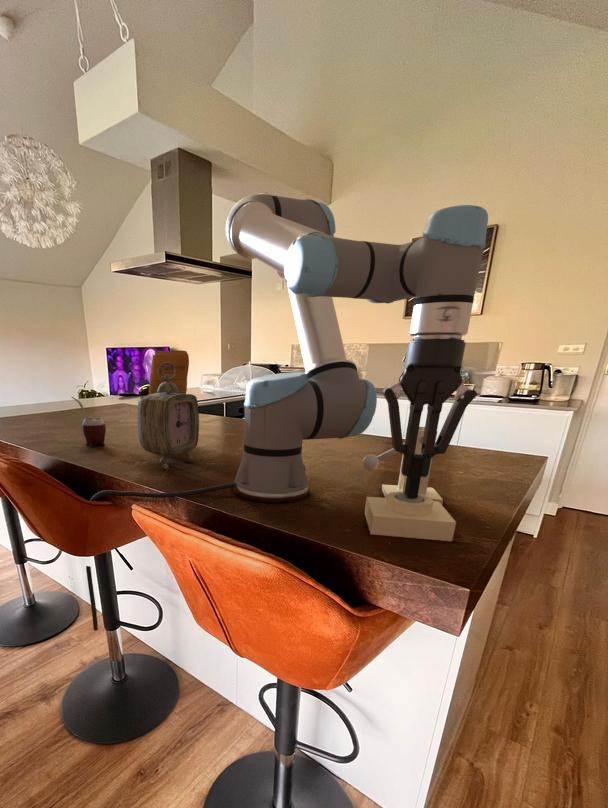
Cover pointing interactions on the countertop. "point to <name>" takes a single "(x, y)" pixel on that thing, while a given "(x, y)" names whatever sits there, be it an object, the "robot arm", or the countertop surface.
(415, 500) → the grey round button
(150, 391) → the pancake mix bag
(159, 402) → the tabletop clock
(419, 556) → the countertop surface
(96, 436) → the mate gourd
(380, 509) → the cream rectangular base
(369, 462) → the flush lever
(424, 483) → the bracket
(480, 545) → the countertop surface
